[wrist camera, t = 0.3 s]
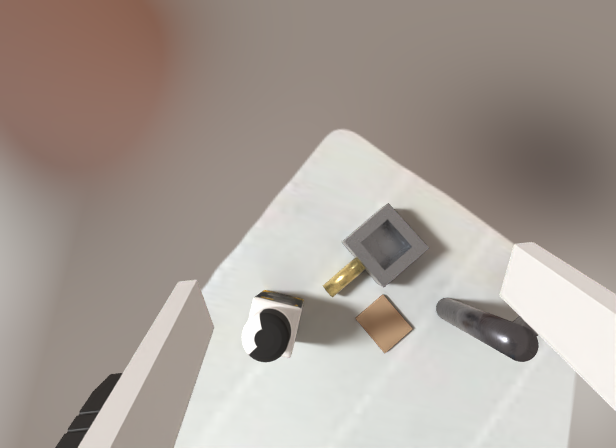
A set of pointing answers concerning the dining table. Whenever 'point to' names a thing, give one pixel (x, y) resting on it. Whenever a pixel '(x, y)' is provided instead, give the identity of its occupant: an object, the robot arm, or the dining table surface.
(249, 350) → the medicine bottle
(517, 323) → the chuck key
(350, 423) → the dining table surface
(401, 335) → the copper plate
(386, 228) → the block
